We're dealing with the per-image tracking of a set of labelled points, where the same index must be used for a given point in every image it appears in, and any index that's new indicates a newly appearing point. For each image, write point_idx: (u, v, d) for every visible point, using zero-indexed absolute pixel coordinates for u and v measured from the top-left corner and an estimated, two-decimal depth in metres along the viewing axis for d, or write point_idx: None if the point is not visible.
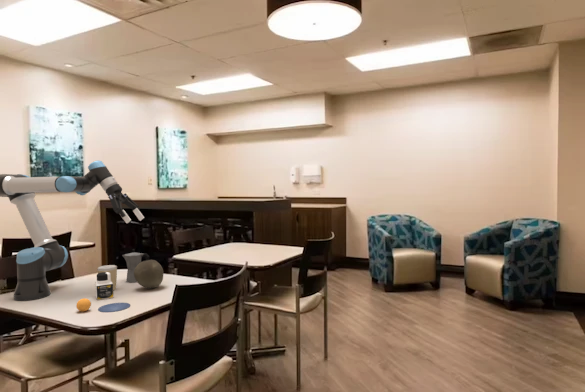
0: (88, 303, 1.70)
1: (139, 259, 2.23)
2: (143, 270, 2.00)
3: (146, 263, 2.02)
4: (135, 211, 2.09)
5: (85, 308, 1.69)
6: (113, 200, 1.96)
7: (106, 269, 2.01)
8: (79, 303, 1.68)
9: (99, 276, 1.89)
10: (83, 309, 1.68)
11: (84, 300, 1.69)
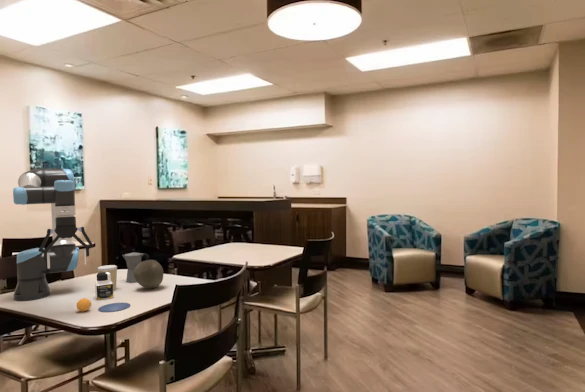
0: (88, 303, 1.70)
1: (139, 259, 2.23)
2: (143, 270, 2.00)
3: (146, 263, 2.02)
4: (84, 251, 1.72)
5: (85, 308, 1.69)
6: (45, 237, 1.65)
7: (106, 269, 2.01)
8: (79, 303, 1.68)
9: (99, 276, 1.89)
10: (83, 309, 1.68)
11: (84, 300, 1.69)
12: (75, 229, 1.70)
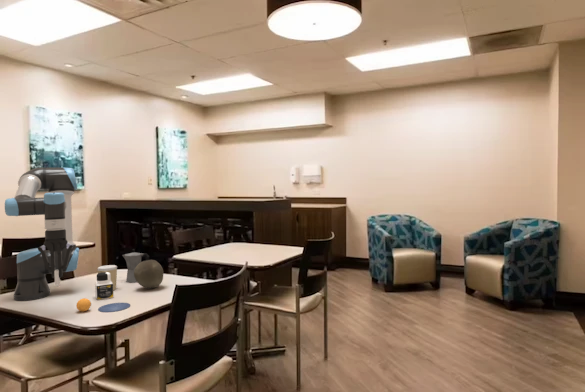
0: (88, 303, 1.70)
1: (139, 259, 2.23)
2: (143, 270, 2.00)
3: (146, 263, 2.02)
4: None
5: (85, 308, 1.69)
6: None
7: (106, 269, 2.01)
8: (79, 303, 1.68)
9: (99, 276, 1.89)
10: (83, 309, 1.68)
11: (84, 300, 1.69)
12: (64, 243, 1.66)
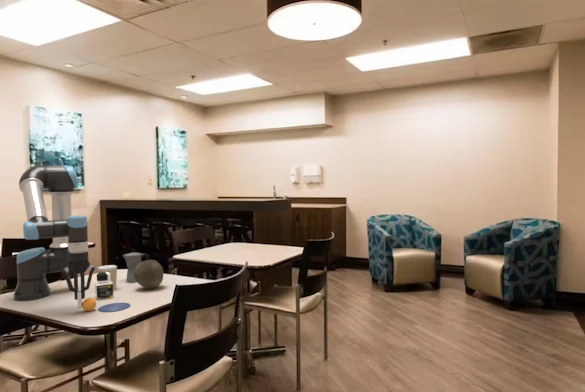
0: (94, 305, 1.71)
1: (139, 259, 2.23)
2: (143, 270, 2.00)
3: (146, 263, 2.02)
4: None
5: (89, 308, 1.69)
6: None
7: (106, 269, 2.01)
8: (87, 301, 1.69)
9: (99, 276, 1.89)
10: (87, 308, 1.69)
11: (92, 301, 1.70)
12: (87, 265, 1.69)
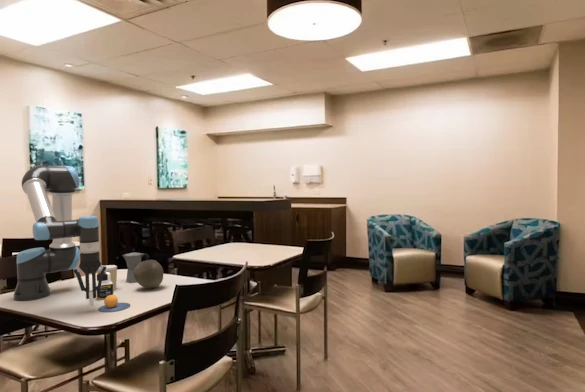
0: (106, 303, 1.73)
1: (139, 259, 2.23)
2: (143, 270, 2.00)
3: (146, 263, 2.02)
4: None
5: (109, 299, 1.73)
6: None
7: (106, 269, 2.01)
8: (114, 304, 1.74)
9: (99, 276, 1.89)
10: (112, 298, 1.73)
11: (109, 306, 1.73)
12: (98, 265, 1.72)
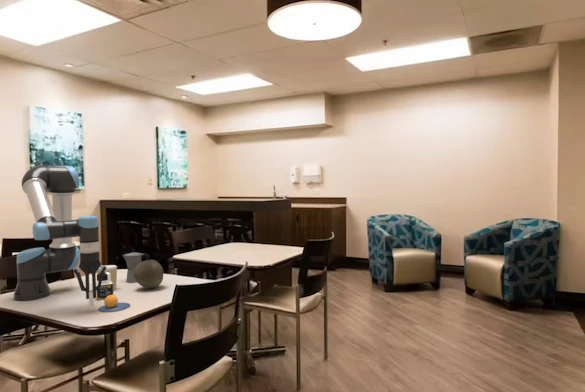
0: (106, 303, 1.73)
1: (139, 259, 2.23)
2: (143, 270, 2.00)
3: (146, 263, 2.02)
4: None
5: (109, 299, 1.73)
6: None
7: (106, 269, 2.01)
8: (114, 304, 1.74)
9: (99, 276, 1.89)
10: (112, 298, 1.73)
11: (109, 306, 1.73)
12: (98, 265, 1.72)
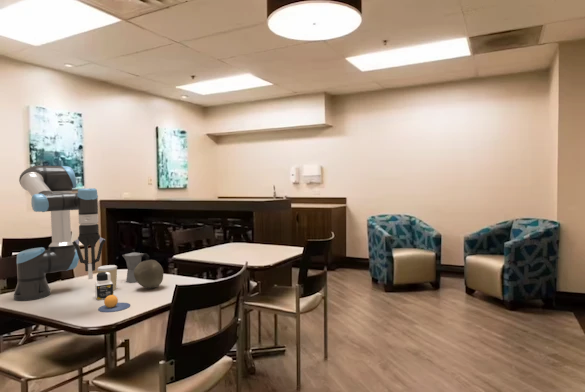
0: (106, 303, 1.73)
1: (139, 259, 2.23)
2: (143, 270, 2.00)
3: (146, 263, 2.02)
4: None
5: (109, 299, 1.73)
6: None
7: (106, 269, 2.01)
8: (114, 304, 1.74)
9: (99, 276, 1.89)
10: (112, 298, 1.73)
11: (109, 306, 1.73)
12: (97, 237, 1.71)
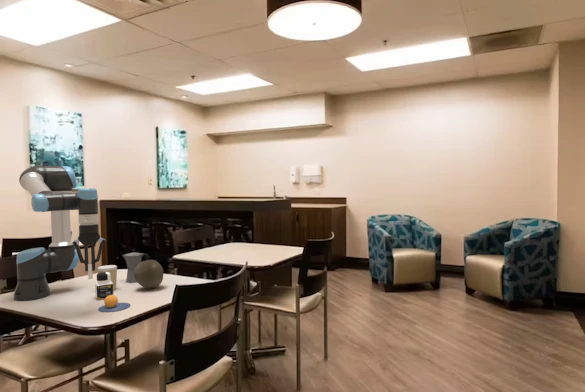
0: (106, 303, 1.73)
1: (139, 259, 2.23)
2: (143, 270, 2.00)
3: (146, 263, 2.02)
4: None
5: (109, 299, 1.73)
6: None
7: (106, 269, 2.01)
8: (114, 304, 1.74)
9: (99, 276, 1.89)
10: (112, 298, 1.73)
11: (109, 306, 1.73)
12: (97, 237, 1.71)
